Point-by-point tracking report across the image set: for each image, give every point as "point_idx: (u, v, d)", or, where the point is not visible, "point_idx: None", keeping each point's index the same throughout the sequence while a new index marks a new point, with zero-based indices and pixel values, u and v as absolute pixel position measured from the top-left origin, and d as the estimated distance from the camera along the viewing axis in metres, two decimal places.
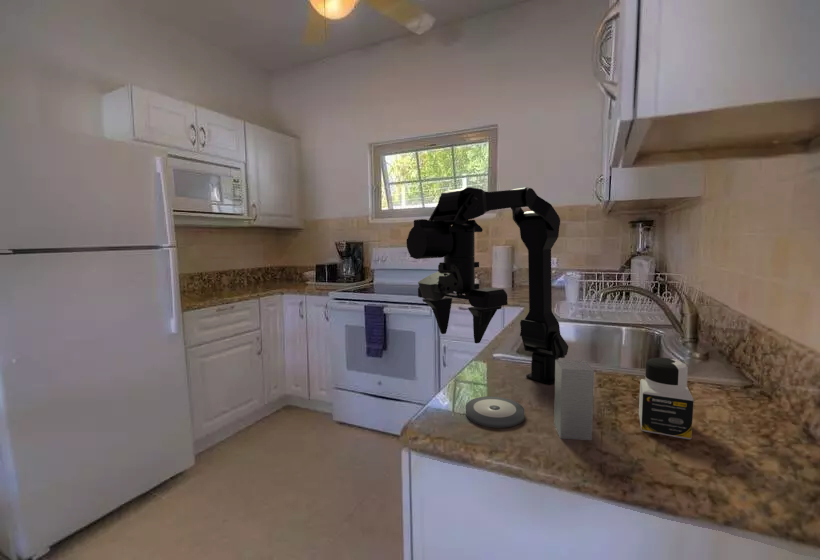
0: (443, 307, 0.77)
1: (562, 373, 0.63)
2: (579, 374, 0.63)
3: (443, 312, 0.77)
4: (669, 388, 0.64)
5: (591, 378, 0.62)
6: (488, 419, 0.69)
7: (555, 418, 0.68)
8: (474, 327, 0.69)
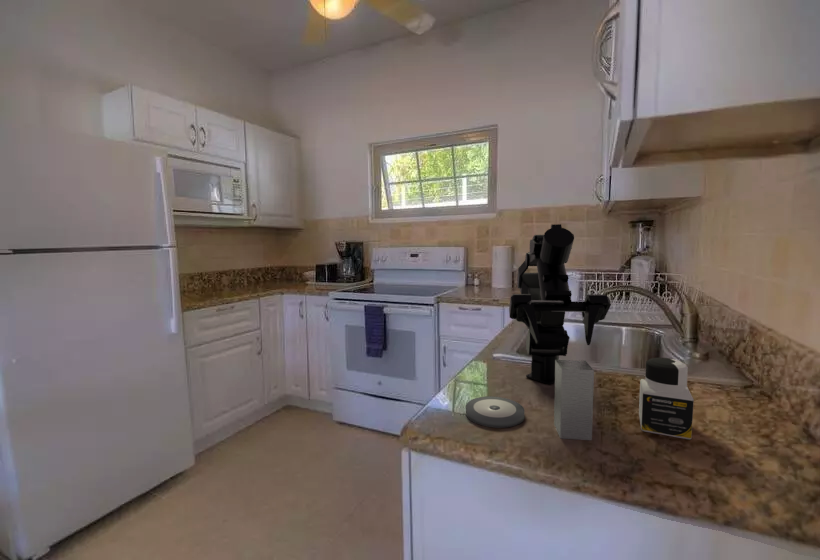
0: (586, 319, 0.75)
1: (562, 373, 0.63)
2: (579, 374, 0.63)
3: (586, 324, 0.75)
4: (669, 388, 0.64)
5: (591, 378, 0.62)
6: (488, 419, 0.69)
7: (555, 418, 0.68)
8: None
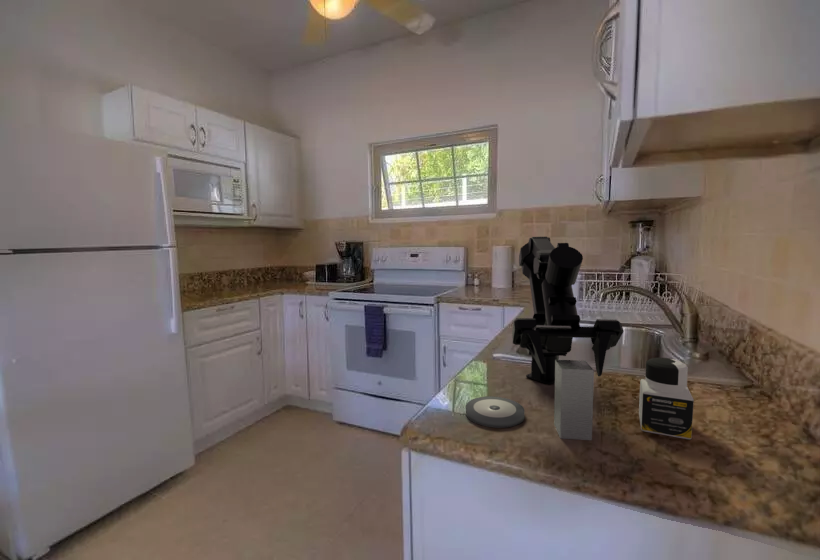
0: (596, 347, 0.69)
1: (562, 373, 0.63)
2: (579, 374, 0.63)
3: (596, 352, 0.68)
4: (669, 388, 0.64)
5: (591, 378, 0.62)
6: (488, 419, 0.69)
7: (555, 418, 0.68)
8: None
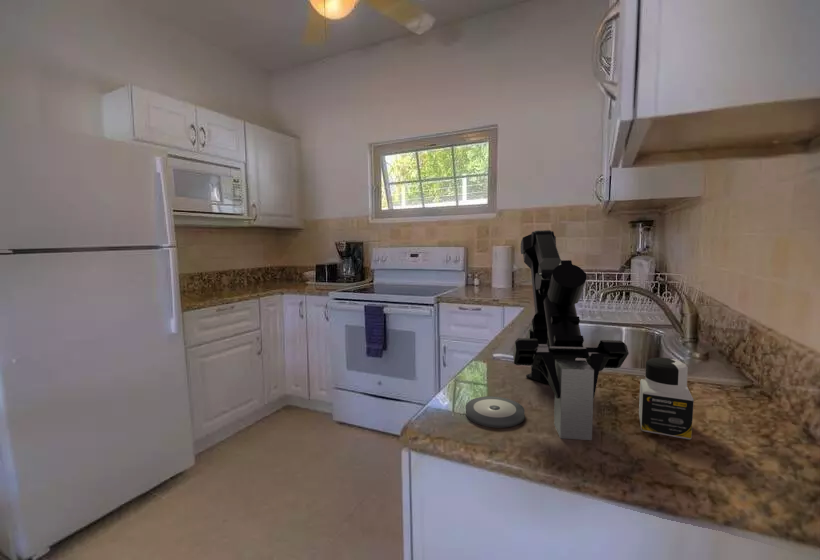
0: None
1: (562, 373, 0.63)
2: (579, 374, 0.63)
3: None
4: (669, 388, 0.64)
5: (591, 378, 0.62)
6: (488, 419, 0.69)
7: (555, 418, 0.68)
8: None
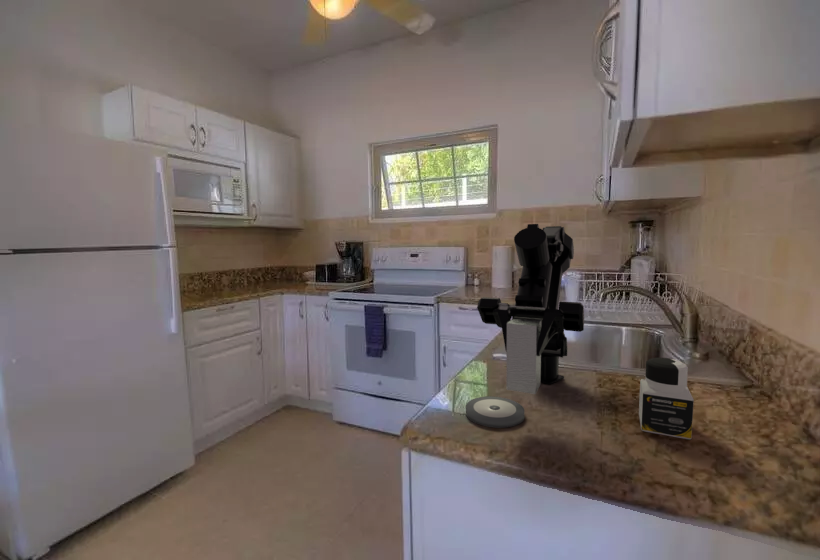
0: None
1: (507, 327, 0.67)
2: (523, 329, 0.66)
3: None
4: (669, 388, 0.64)
5: (534, 333, 0.65)
6: (488, 419, 0.69)
7: None
8: None
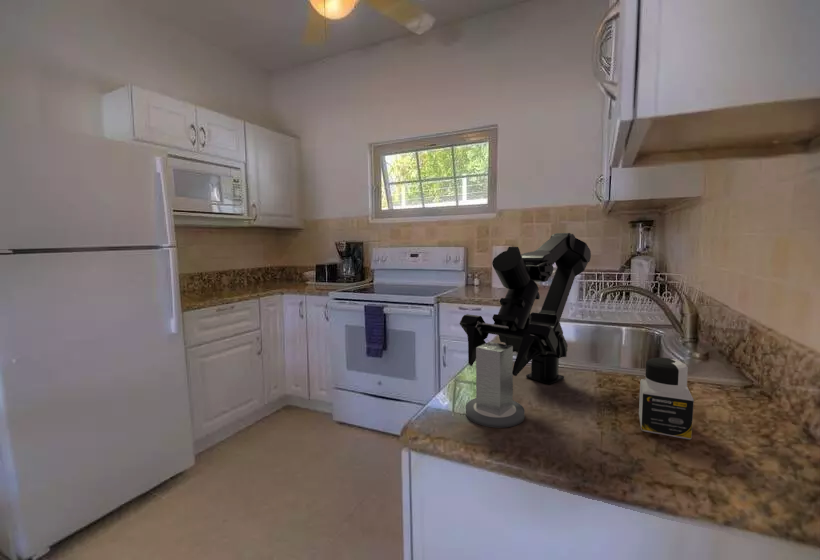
0: None
1: (476, 351, 0.72)
2: (489, 354, 0.70)
3: None
4: (669, 388, 0.64)
5: (498, 359, 0.69)
6: (488, 419, 0.69)
7: None
8: None
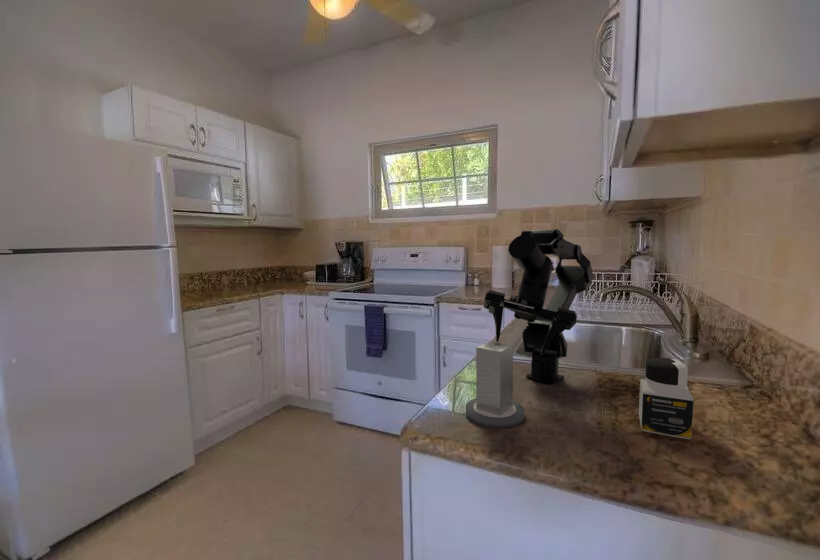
0: (549, 330, 0.80)
1: (476, 351, 0.72)
2: (489, 354, 0.70)
3: (547, 334, 0.80)
4: (669, 388, 0.64)
5: (498, 359, 0.69)
6: (488, 419, 0.69)
7: None
8: None
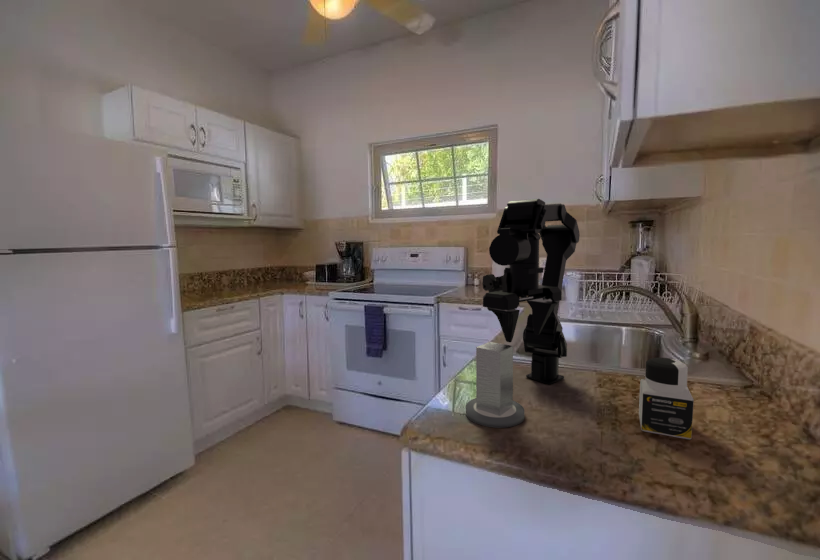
0: (539, 310, 0.81)
1: (476, 351, 0.72)
2: (489, 354, 0.70)
3: (538, 314, 0.81)
4: (669, 388, 0.64)
5: (498, 359, 0.69)
6: (488, 419, 0.69)
7: None
8: None
